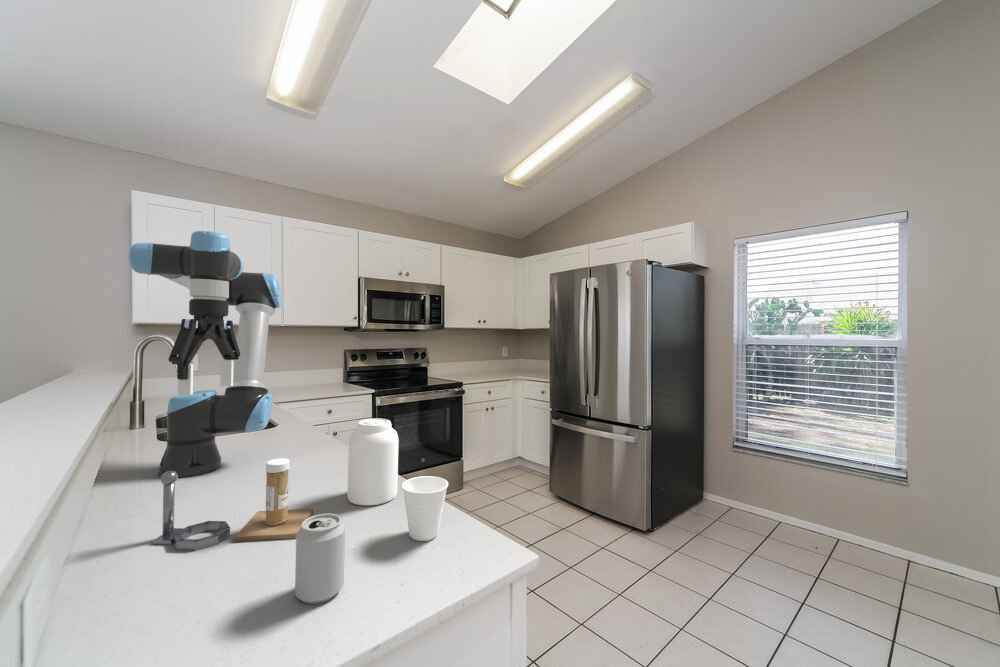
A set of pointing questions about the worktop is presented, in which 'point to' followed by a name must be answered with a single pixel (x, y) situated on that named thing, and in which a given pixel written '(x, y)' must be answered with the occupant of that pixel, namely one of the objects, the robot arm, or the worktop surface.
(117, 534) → the worktop surface
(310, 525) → the can
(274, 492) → the sprinkles bottle
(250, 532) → the coaster
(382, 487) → the white jar
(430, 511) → the cup
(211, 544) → the ring stand
